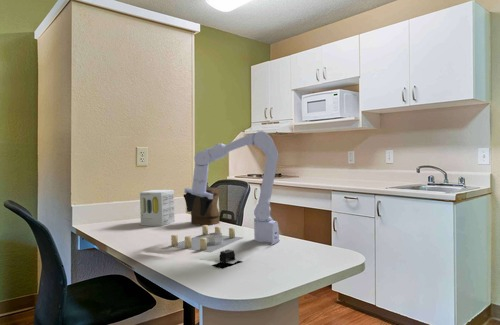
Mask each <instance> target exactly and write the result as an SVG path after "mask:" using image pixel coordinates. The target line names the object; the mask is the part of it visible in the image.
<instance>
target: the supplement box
mask: <svg viewBox="0 0 500 325" xmlns="http://www.w3.org/2000/svg"><path fill="white" fill-rule="evenodd" d="M139 205H140V207H139V208H140V209H139V210H140V226H148V227H150V226H152V227H164V226H167V225H169V224H172V223H174V222H176V220H175V191H174V189H152V190H150V189H149V190H144V191H140V192H139Z"/></svg>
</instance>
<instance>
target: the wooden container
mask: <svg viewBox="0 0 500 325" xmlns="http://www.w3.org/2000/svg"><path fill="white" fill-rule="evenodd" d="M208 185H209V182H208V181H207V186H206V192H208V193H210V194H213V201H212V202H211V204H210V205H209V207H208V209H207V211H206V214H205V216H200V210H201V204H200V198H204V197H200V196H196V198H195V200H194V203H193V209H192V212H190V218H191V219H190V220H191V221H190V223H191V224H192V225H194V226H203V225H208V226H213V224H214V225H217V224H219V223H220V201H219V200H220V199H219V198H220V197H219V196H220V195H219V194H220V192H219V191H220V190H219V187H211V186H208ZM198 195H200V194H198Z"/></svg>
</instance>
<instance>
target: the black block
mask: <svg viewBox="0 0 500 325" xmlns="http://www.w3.org/2000/svg"><path fill="white" fill-rule="evenodd" d="M228 259H230V260H233V261H236V253H235V251H234V250H232V249H225V250H221V251H220V252H219V262H217V263H214V264H211V266H212V267H215V268H218V269H219V270H220V269H221V270H224V269H226V268H229V267H233V266H235V265H238V264H241V263H244V261H242V260H237V261H236V262H234V263H231V262H227V260H228Z"/></svg>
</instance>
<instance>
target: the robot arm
mask: <svg viewBox="0 0 500 325" xmlns="http://www.w3.org/2000/svg"><path fill="white" fill-rule="evenodd" d="M245 146H253V147H254V146H256V147H257V148H259V149H260V150H262V152H263V153H264V155H265V156H266V159H265V165H264V170H263V176H262V182H261V187H260V192H259V198H258V202H257V203H256V206H255V208H254V210H253V215H254V216H255V217H254V218H253V229H254V230H253V231H254V233H253V234H254V241H255V242H259V243H269V244H267V245H268V246H273V245H274V244H277V243H278V242H280V234H279V232H280V230H279V222H278V221H277V220H273V218H272V217H271V216H270V215H271V212H272V209H271V208H272V207H271V197H272V193H273V187H274V182H275V181H274V180H275V176H276V171H277V165H278V160H279V152H278V151H279V150H278V149H277V147H276V144H275V142H274V140H273V138H272V137H271V136H270V135H269V134H268V133H267V132H266V131H263V130H260V131H257V132H256V133H255V132H253V133H250V134H247V135H244V136H243V137H240V138H238V139H235V140H233V141H230V142H229V143H227V144H224V143H222V142H221V143H218V142H216V143H215V144H214V146H211V147H209V148H208V147H206V148H204V150H199V151H198V152H196V153H195V155H194V162H195V163H194V171H193V176H192V186H191V188H190V187H189V188H188V187H187V188H186V187H185V188H184V190H183V191H184V192H183V193H184V194H183V198H184V201H185V204H186V212H187V213H191V212H192V209H193V203H194V200H195V198H196V196H200V197H204V198H200V204H201V210H200V216H205V214H206V211H207V209H208V207H209V205H210V204H211V202H212V201H213V194H210V193H208V192H206V186H207V182H208V179H209V178H208V177H209V168H210V163H213V162H216V161H218V160H221V159H223V158H226V157H227V156H228V154H229V153H230V152H232V151H234V150H237V149H240V148H243V147H245ZM198 194H200V195H198Z"/></svg>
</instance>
